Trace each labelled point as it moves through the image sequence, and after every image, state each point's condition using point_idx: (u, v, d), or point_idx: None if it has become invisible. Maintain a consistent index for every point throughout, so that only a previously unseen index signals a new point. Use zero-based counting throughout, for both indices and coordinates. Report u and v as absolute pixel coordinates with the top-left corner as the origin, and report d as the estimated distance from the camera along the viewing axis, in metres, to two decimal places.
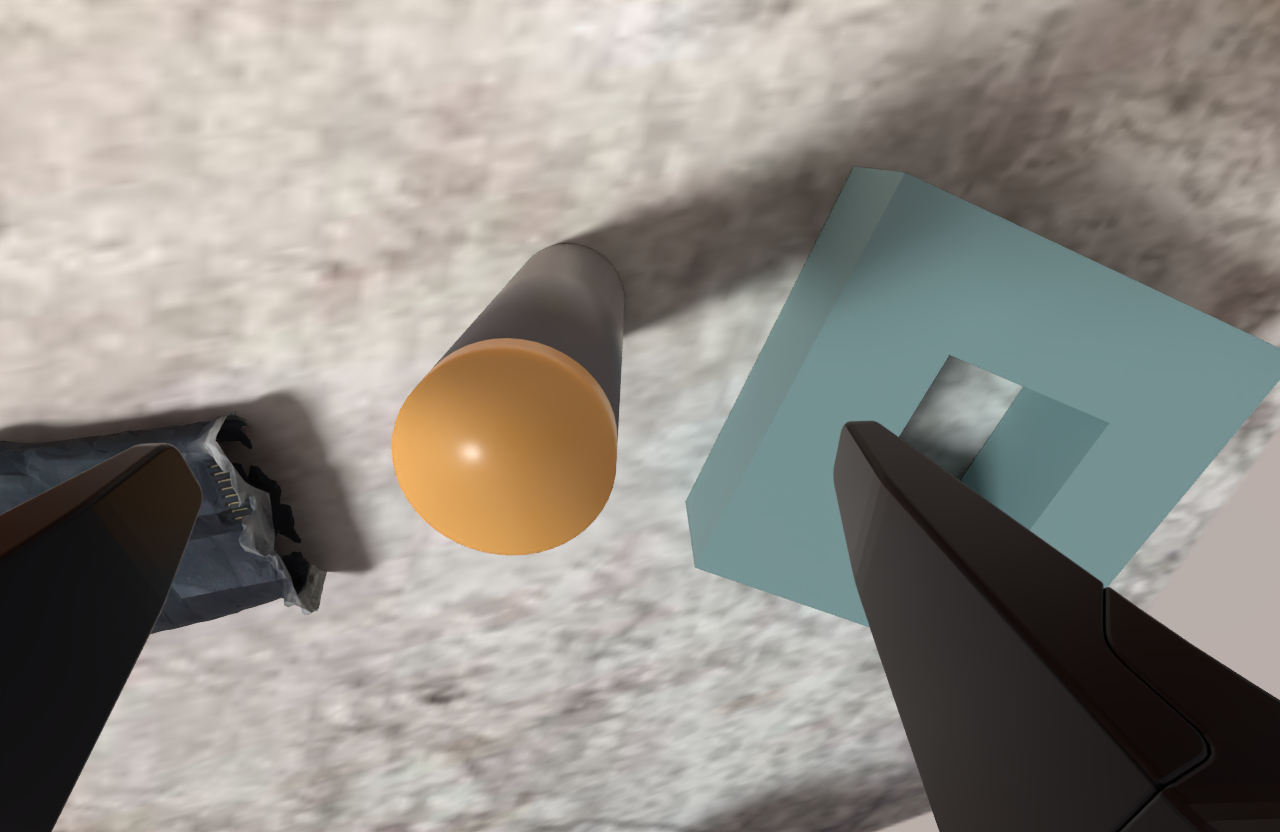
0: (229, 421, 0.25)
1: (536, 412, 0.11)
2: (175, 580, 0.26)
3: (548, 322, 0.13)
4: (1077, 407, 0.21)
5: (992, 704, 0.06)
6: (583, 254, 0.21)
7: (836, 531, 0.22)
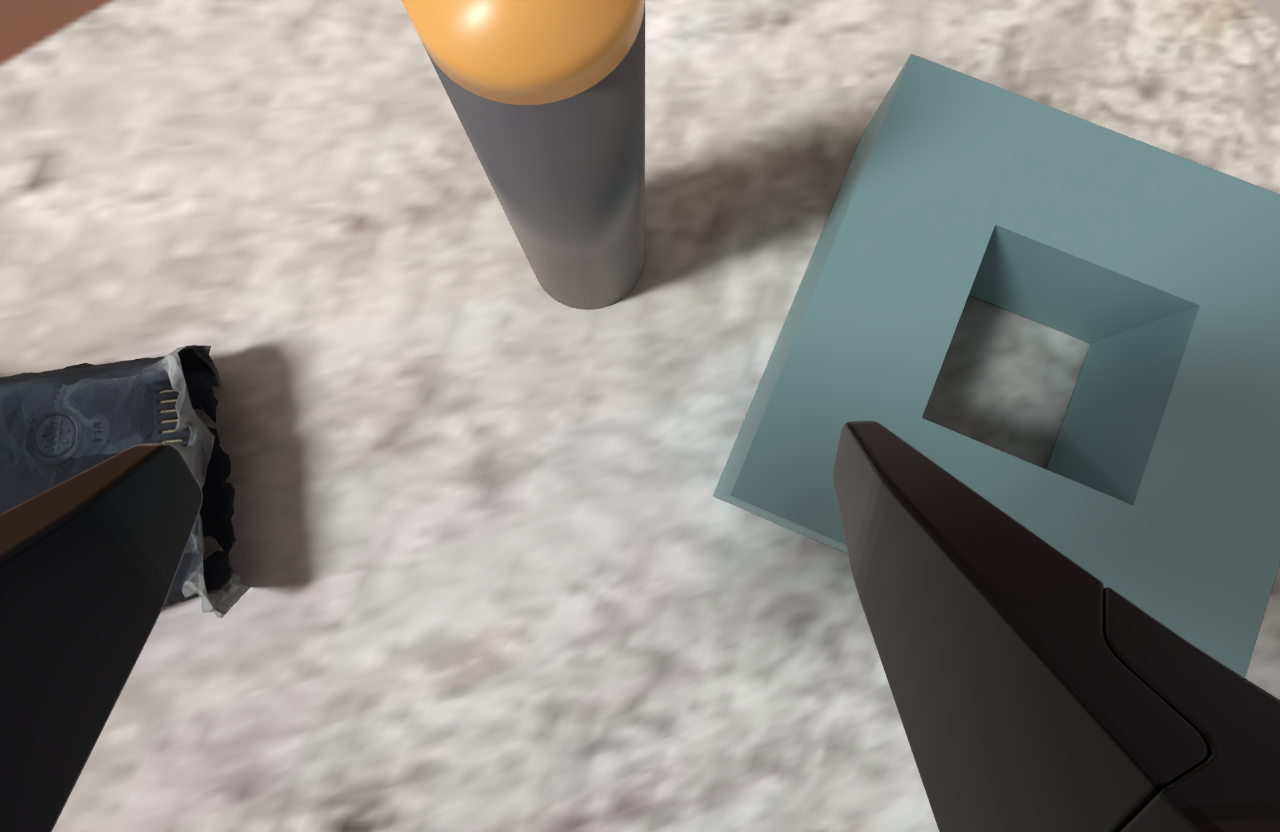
0: (199, 371, 0.22)
1: None
2: None
3: None
4: (1156, 286, 0.18)
5: (992, 704, 0.06)
6: None
7: None
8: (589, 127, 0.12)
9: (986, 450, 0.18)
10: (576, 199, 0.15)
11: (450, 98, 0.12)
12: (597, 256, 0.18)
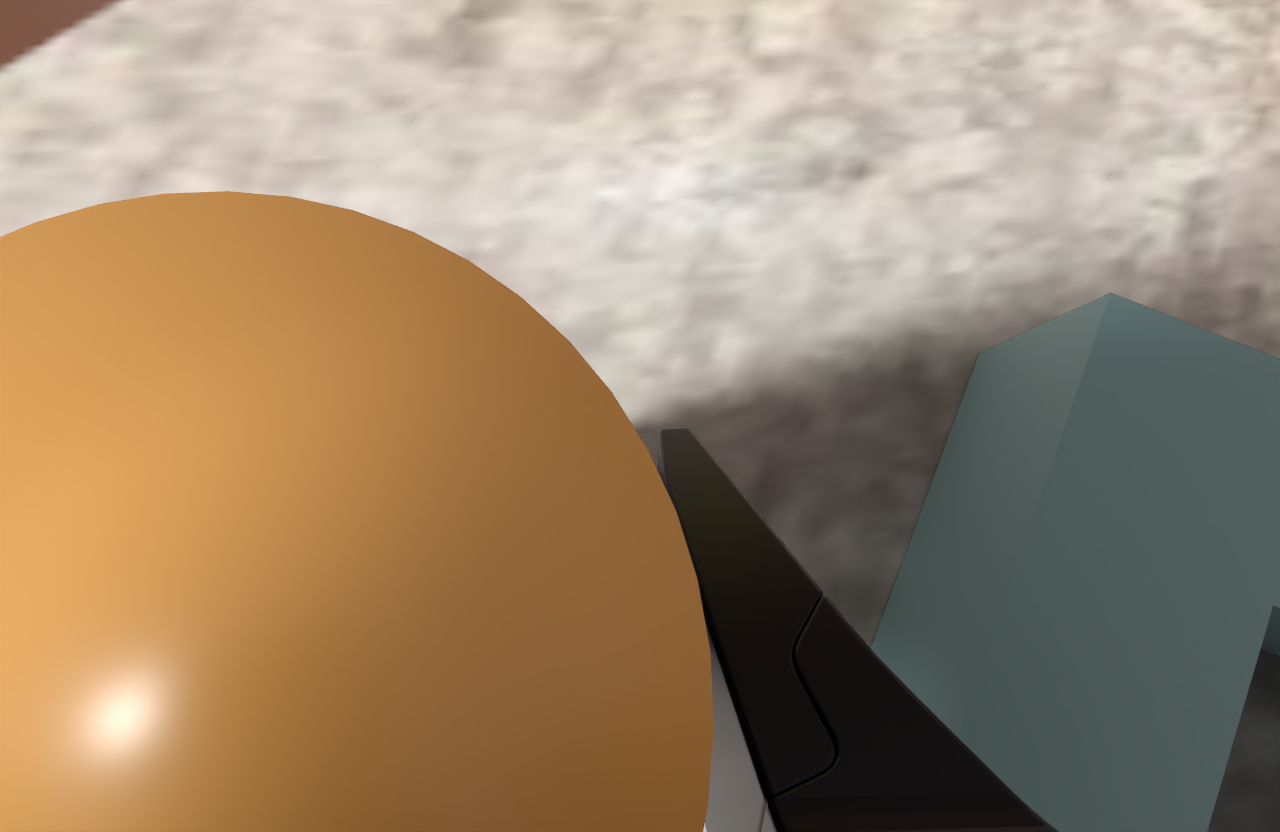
0: None
1: (355, 452, 0.03)
2: None
3: None
4: None
5: None
6: None
7: None
8: None
9: None
10: None
11: None
12: None
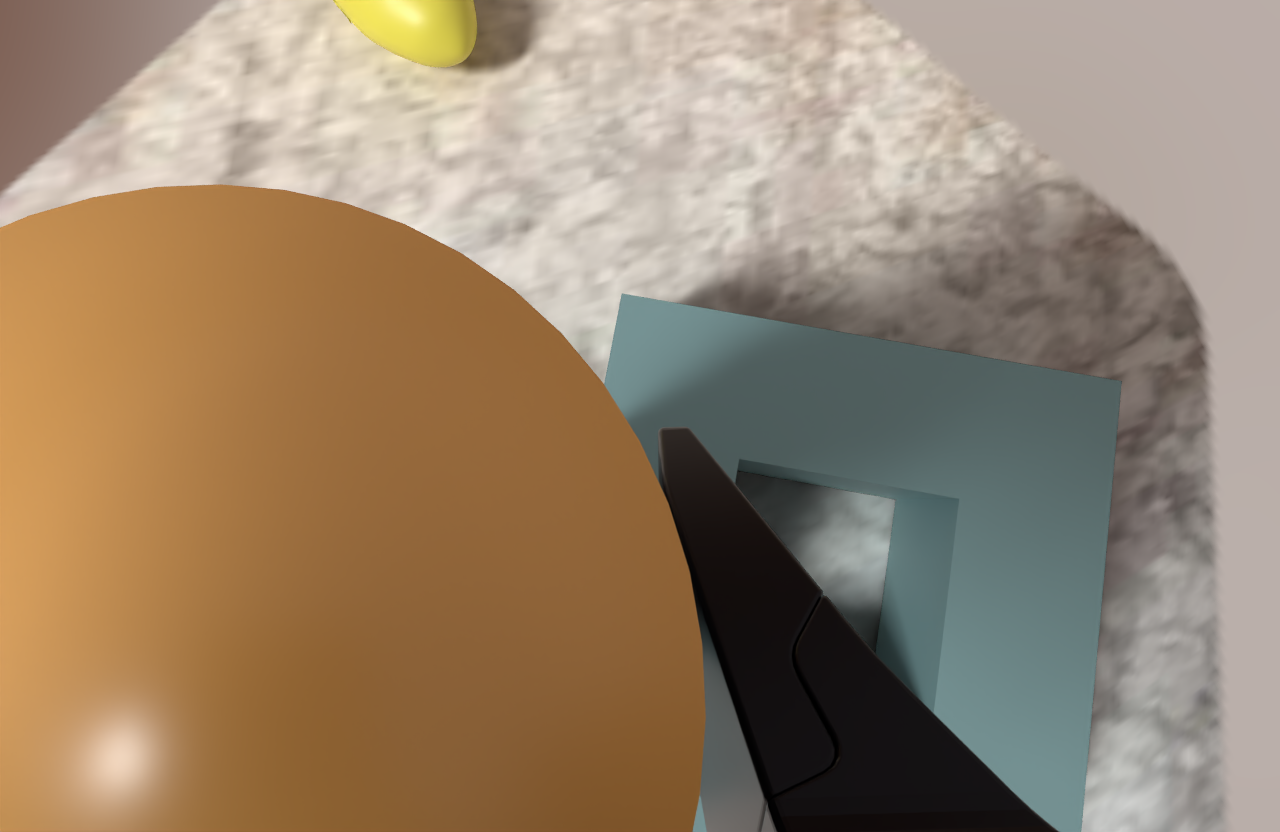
0: None
1: (348, 444, 0.03)
2: None
3: None
4: (911, 488, 0.18)
5: (712, 713, 0.06)
6: None
7: None
8: None
9: None
10: None
11: None
12: None
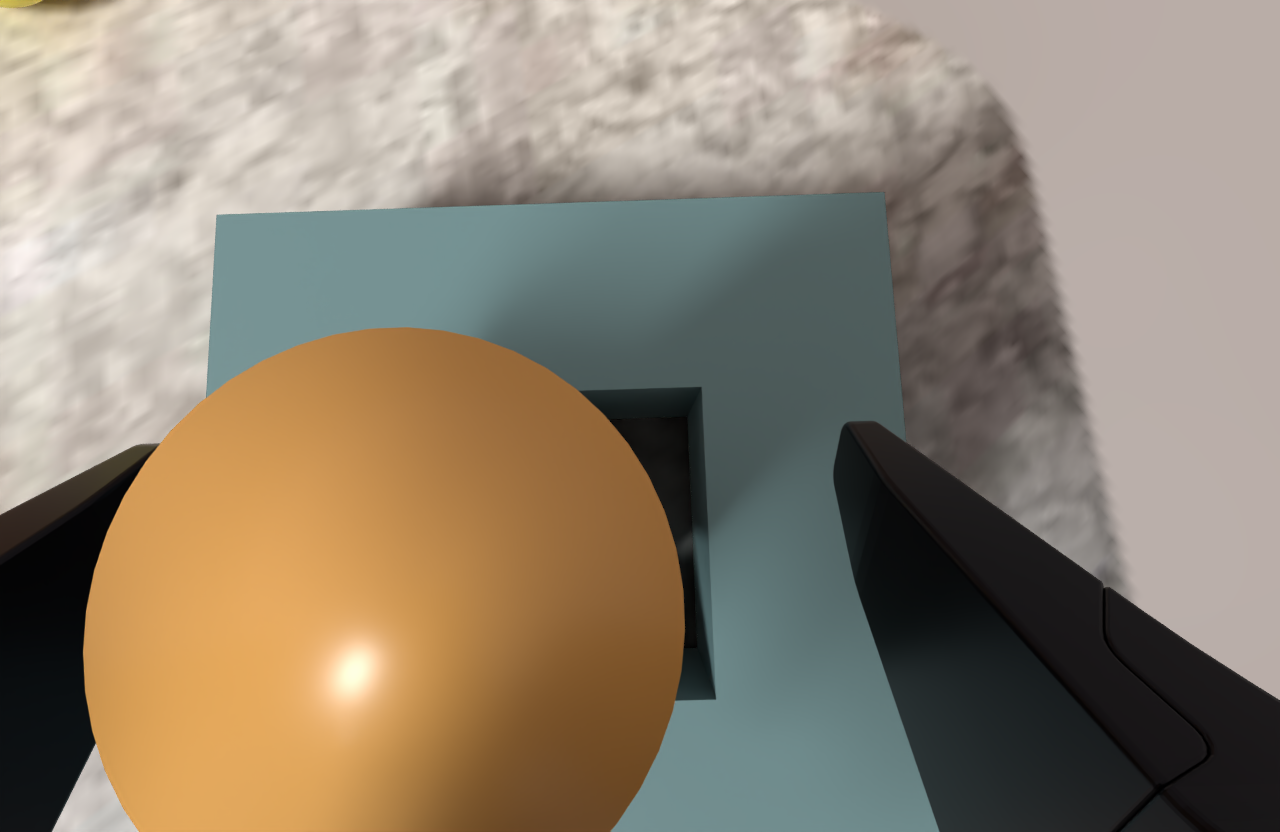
0: None
1: (484, 478, 0.04)
2: None
3: None
4: (637, 386, 0.13)
5: (992, 704, 0.06)
6: None
7: None
8: None
9: None
10: None
11: None
12: None
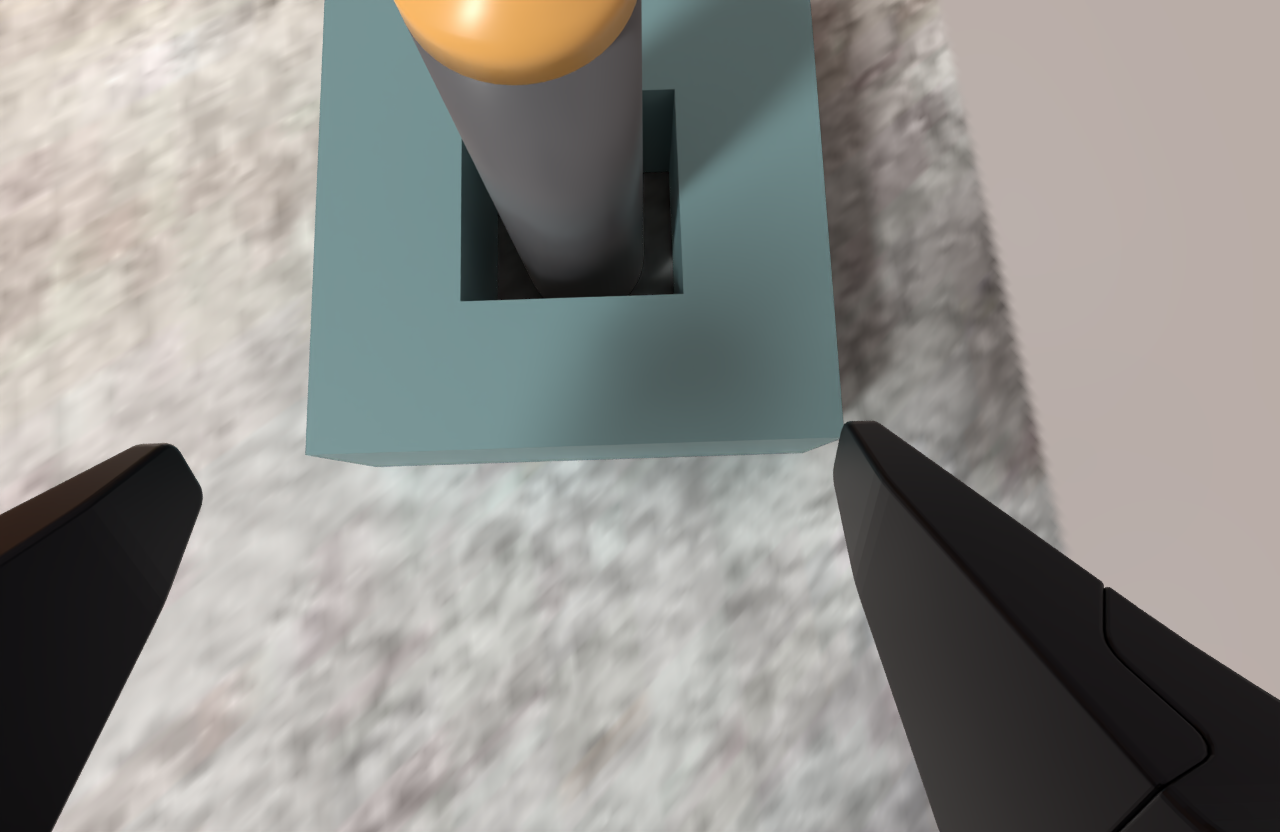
0: None
1: None
2: None
3: None
4: None
5: (993, 704, 0.06)
6: None
7: (455, 332, 0.17)
8: (582, 112, 0.11)
9: (530, 304, 0.18)
10: (570, 192, 0.14)
11: (435, 82, 0.12)
12: (593, 256, 0.18)
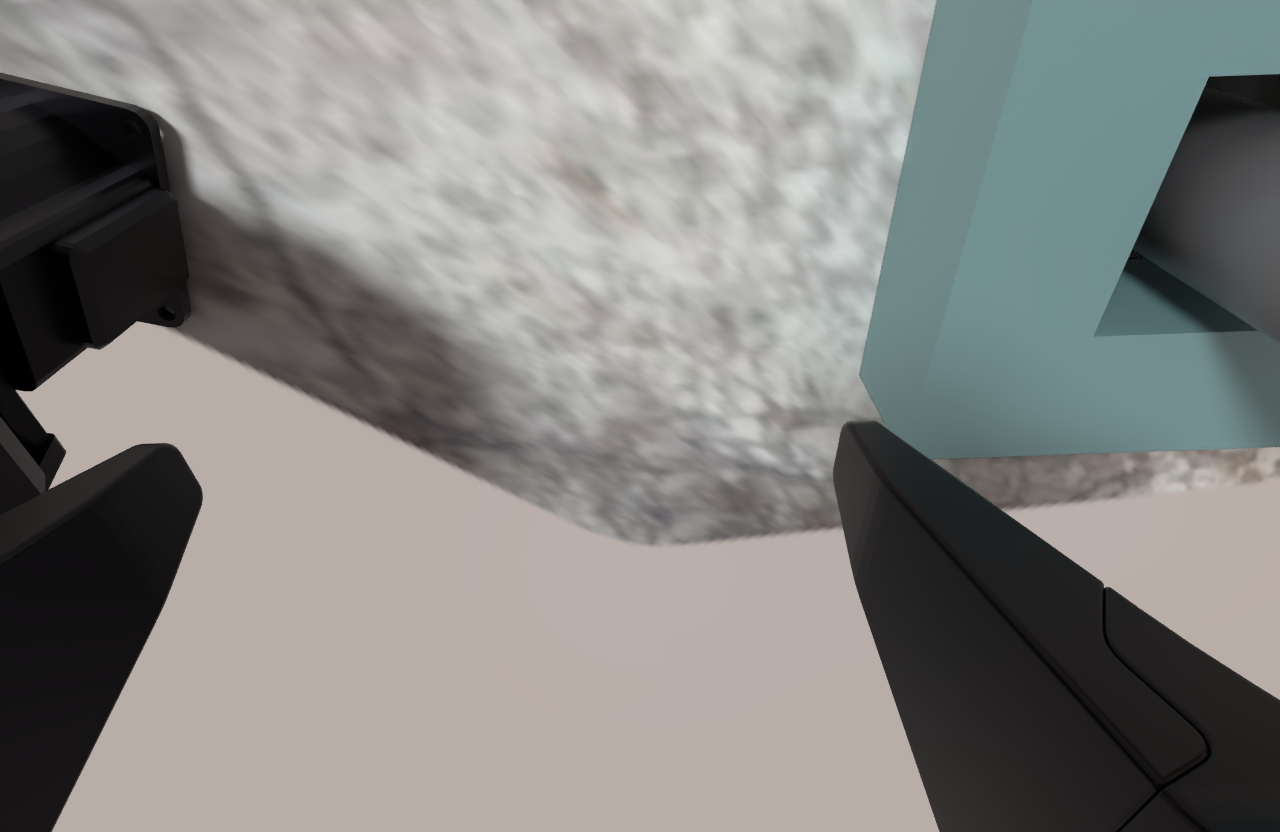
0: None
1: None
2: None
3: None
4: None
5: (993, 704, 0.06)
6: None
7: (1169, 71, 0.13)
8: None
9: (1159, 173, 0.14)
10: None
11: None
12: (1184, 250, 0.15)
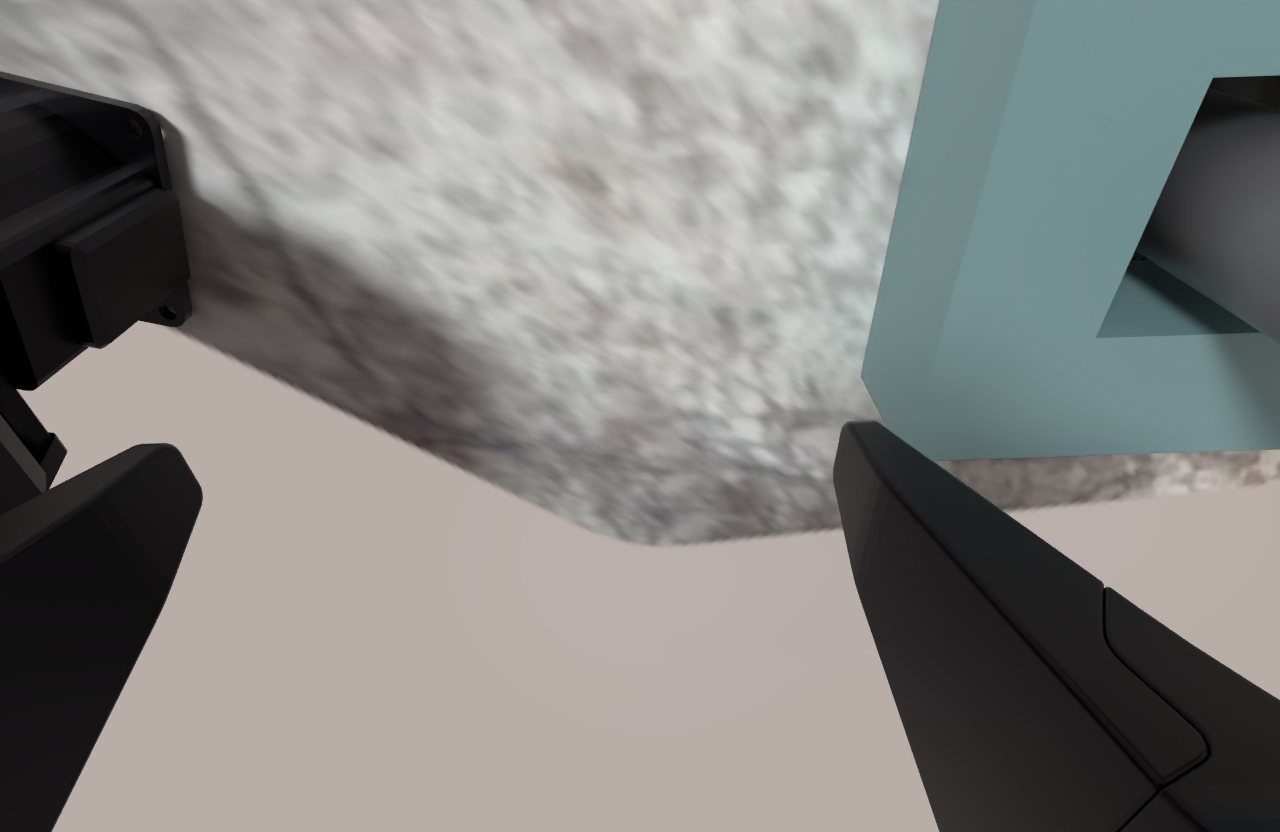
0: None
1: None
2: None
3: None
4: None
5: (993, 704, 0.06)
6: None
7: (1173, 72, 0.13)
8: None
9: (1162, 175, 0.14)
10: None
11: None
12: (1187, 251, 0.15)
